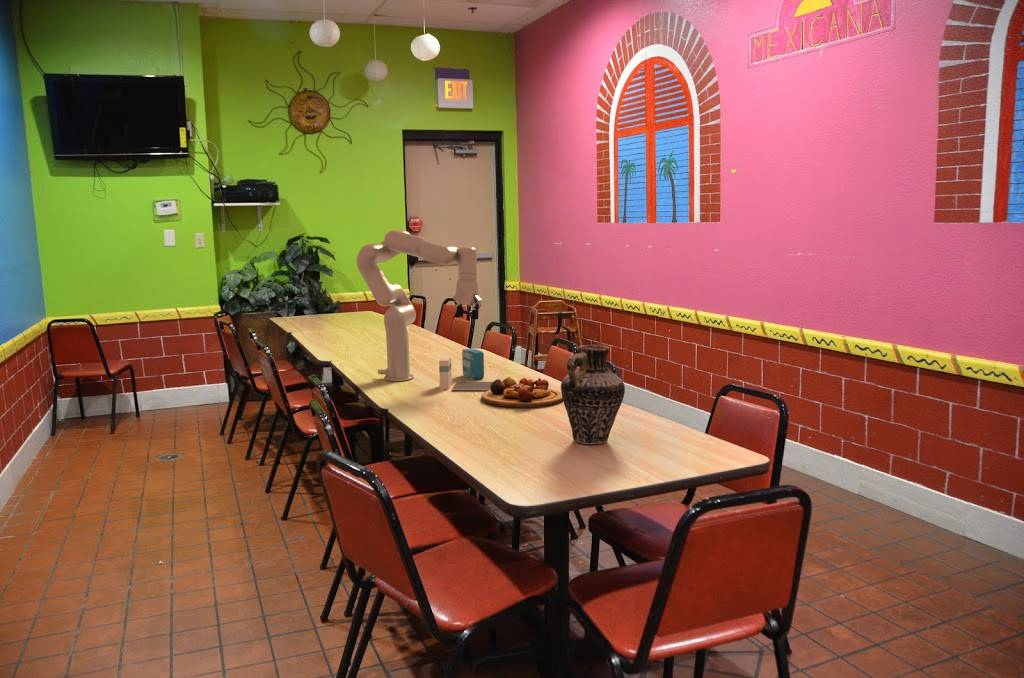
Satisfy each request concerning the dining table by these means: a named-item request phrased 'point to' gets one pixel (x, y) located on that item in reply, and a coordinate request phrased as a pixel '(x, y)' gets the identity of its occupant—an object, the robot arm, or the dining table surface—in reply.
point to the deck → (445, 372)
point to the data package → (473, 363)
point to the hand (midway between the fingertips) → (467, 318)
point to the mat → (472, 386)
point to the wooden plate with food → (521, 393)
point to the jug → (591, 395)
